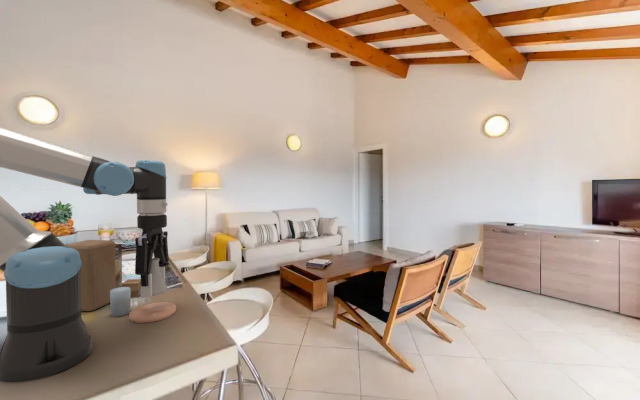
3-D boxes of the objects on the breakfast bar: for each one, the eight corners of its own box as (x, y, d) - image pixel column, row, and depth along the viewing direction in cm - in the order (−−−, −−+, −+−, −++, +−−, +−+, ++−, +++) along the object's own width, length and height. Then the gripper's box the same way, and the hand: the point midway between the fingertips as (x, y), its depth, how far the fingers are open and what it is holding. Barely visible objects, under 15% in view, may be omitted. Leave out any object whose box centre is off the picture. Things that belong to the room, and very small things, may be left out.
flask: (133, 295, 86) (132, 260, 86) (154, 287, 93) (153, 255, 93) (152, 298, 84) (152, 262, 83) (173, 290, 91) (172, 257, 90)
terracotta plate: (164, 322, 83) (164, 318, 83) (119, 323, 82) (119, 318, 82) (182, 305, 95) (182, 302, 95) (143, 306, 94) (143, 302, 94)
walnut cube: (138, 297, 102) (138, 283, 102) (121, 298, 101) (121, 283, 101) (143, 292, 107) (143, 278, 107) (128, 293, 106) (127, 279, 106)
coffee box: (107, 293, 105) (106, 248, 104) (88, 294, 105) (87, 248, 104) (122, 285, 114) (122, 243, 114) (105, 285, 114) (104, 243, 113)
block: (117, 300, 99) (116, 239, 98) (91, 312, 89) (90, 245, 88) (89, 299, 100) (88, 239, 99) (60, 311, 90) (59, 244, 89)
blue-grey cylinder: (124, 316, 87) (123, 292, 86) (106, 316, 87) (106, 292, 86) (134, 309, 92) (134, 286, 91) (117, 309, 92) (117, 286, 91)
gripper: (147, 217, 78) (148, 305, 79) (179, 211, 98) (181, 281, 98) (117, 217, 77) (119, 305, 78) (156, 211, 97) (157, 281, 98)
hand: (153, 292), depth 88 cm, fingers closed on flask, 7 cm apart
